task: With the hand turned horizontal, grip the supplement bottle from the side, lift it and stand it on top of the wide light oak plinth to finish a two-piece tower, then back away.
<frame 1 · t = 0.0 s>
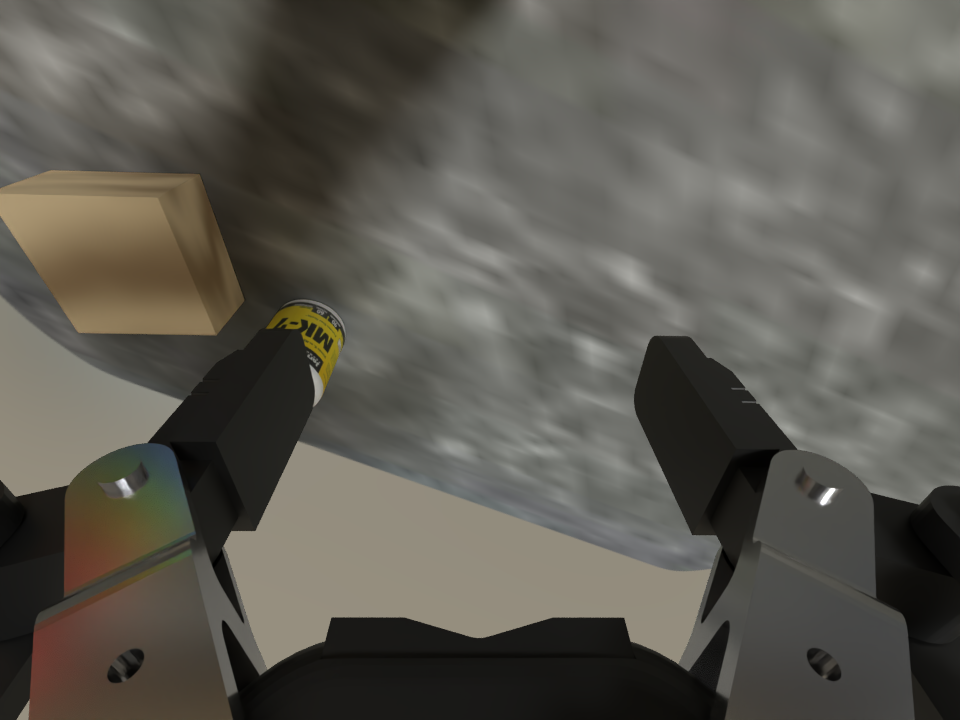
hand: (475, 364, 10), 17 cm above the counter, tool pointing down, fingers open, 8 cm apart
oak block: (157, 241, 26), on the counter
supplement bottle: (312, 324, 30), on the counter
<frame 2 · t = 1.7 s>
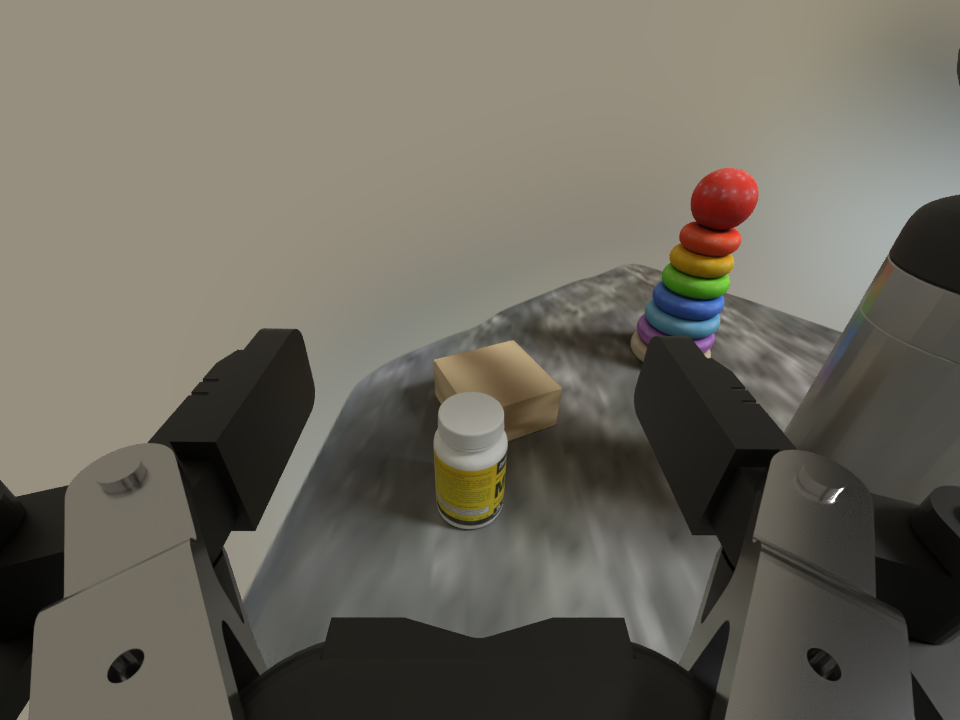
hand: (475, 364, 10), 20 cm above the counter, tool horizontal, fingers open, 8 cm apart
oak block: (493, 409, 39), on the counter
supplement bottle: (469, 503, 31), on the counter
stacking toy: (666, 357, 46), on the counter
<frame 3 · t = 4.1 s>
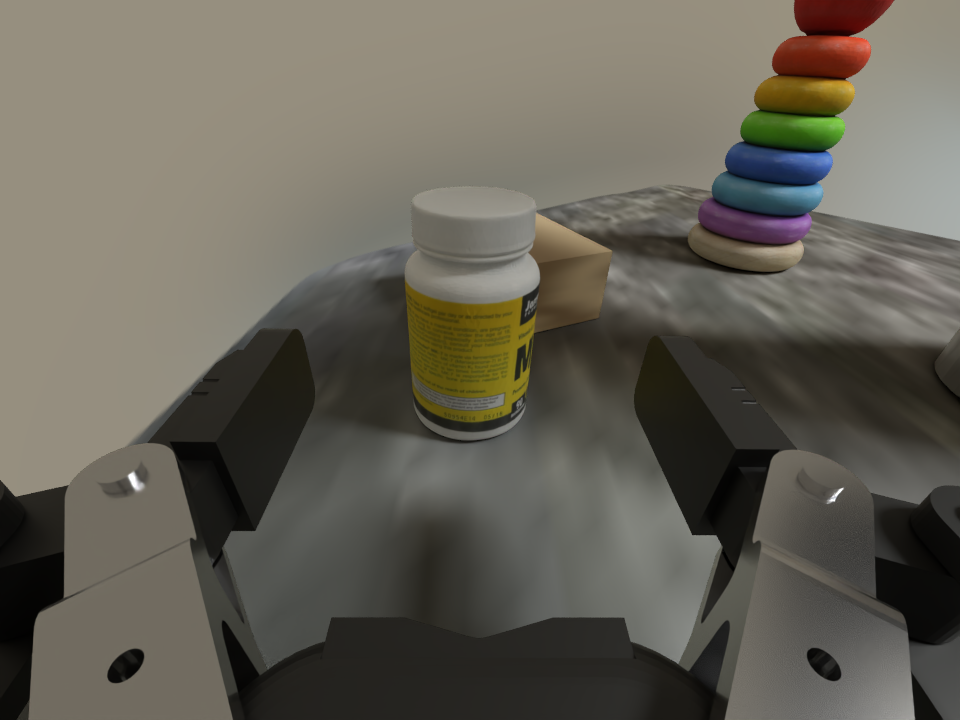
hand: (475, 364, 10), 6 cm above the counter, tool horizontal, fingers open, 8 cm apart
oak block: (505, 301, 26), on the counter
supplement bottle: (469, 407, 18), on the counter
stacking toy: (737, 258, 34), on the counter
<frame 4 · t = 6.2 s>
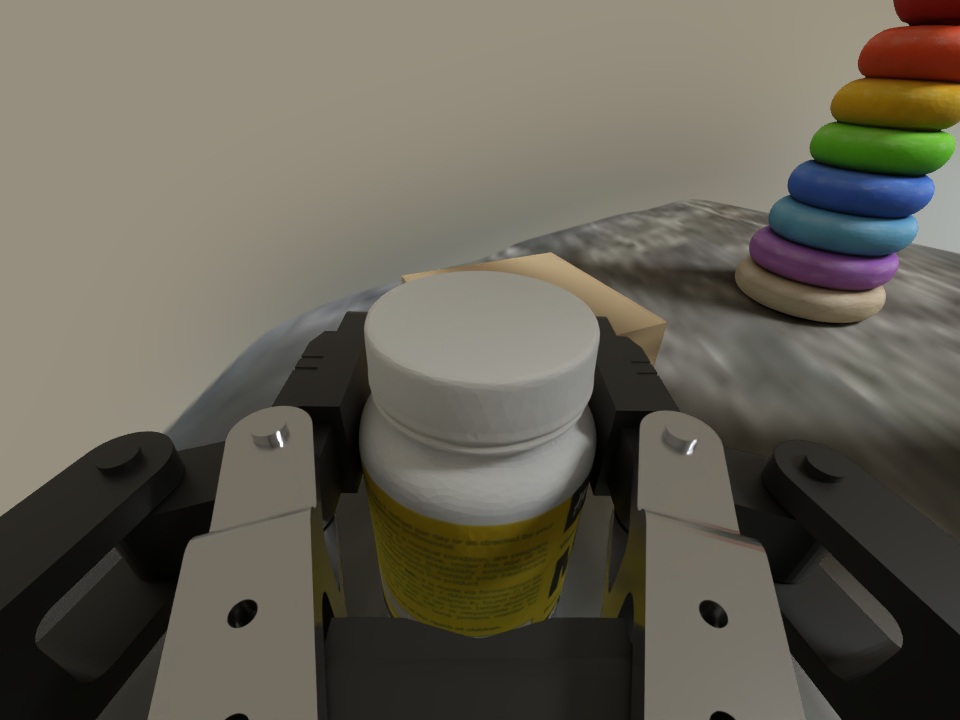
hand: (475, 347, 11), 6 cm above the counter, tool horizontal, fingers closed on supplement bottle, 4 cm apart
oak block: (516, 374, 20), on the counter
supplement bottle: (471, 585, 12), on the counter, touching gripper
stacking toy: (796, 301, 28), on the counter
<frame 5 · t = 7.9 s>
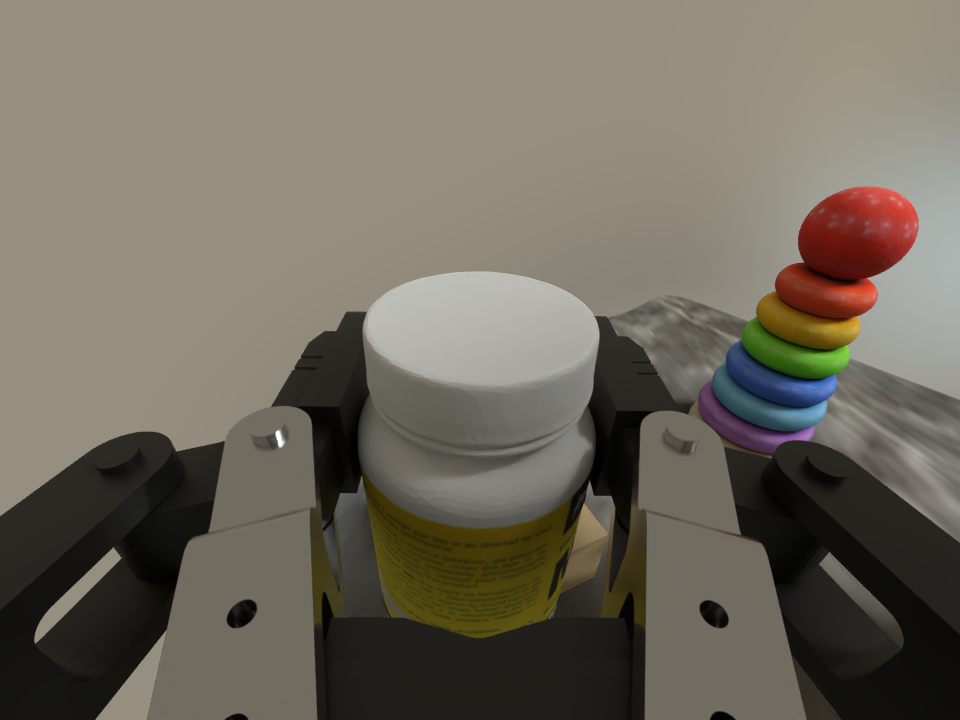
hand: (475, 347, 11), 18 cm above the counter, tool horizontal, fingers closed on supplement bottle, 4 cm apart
oak block: (498, 544, 26), on the counter
supplement bottle: (470, 586, 12), point 11 cm above the counter, touching gripper
stacking toy: (737, 443, 34), on the counter
when the fingers open (10 cm above the counter, at t = 9.9 s): supplement bottle stays where it is, resting on oak block.
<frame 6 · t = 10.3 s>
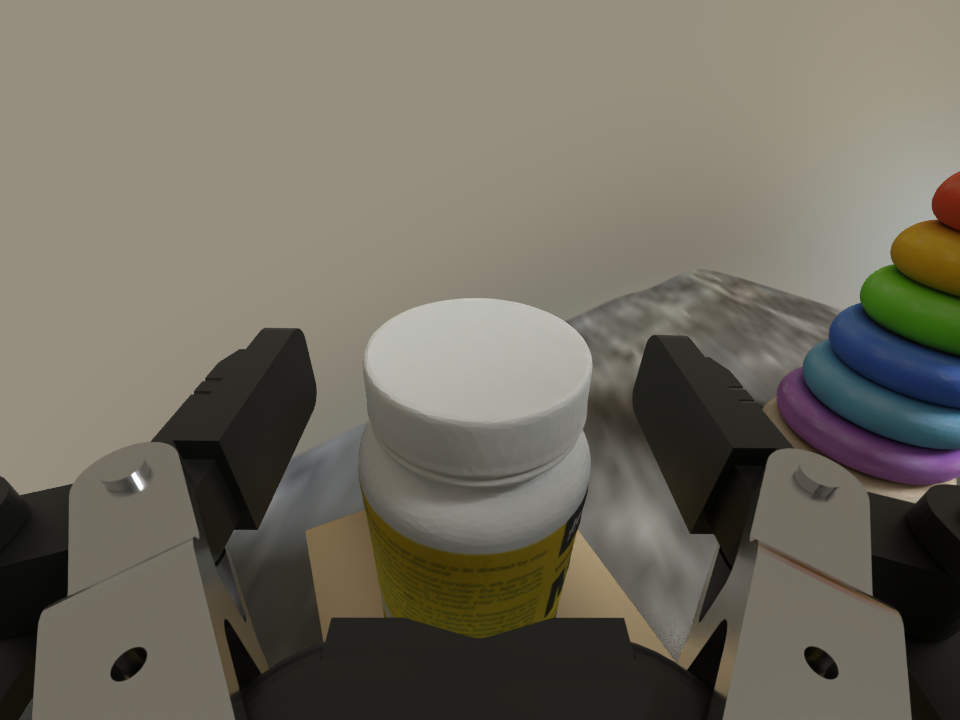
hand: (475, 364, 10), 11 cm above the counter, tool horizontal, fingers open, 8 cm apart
oak block: (469, 654, 15), on the counter
supplement bottle: (470, 600, 12), point 4 cm above the counter, touching oak block
stacking toy: (835, 463, 23), on the counter
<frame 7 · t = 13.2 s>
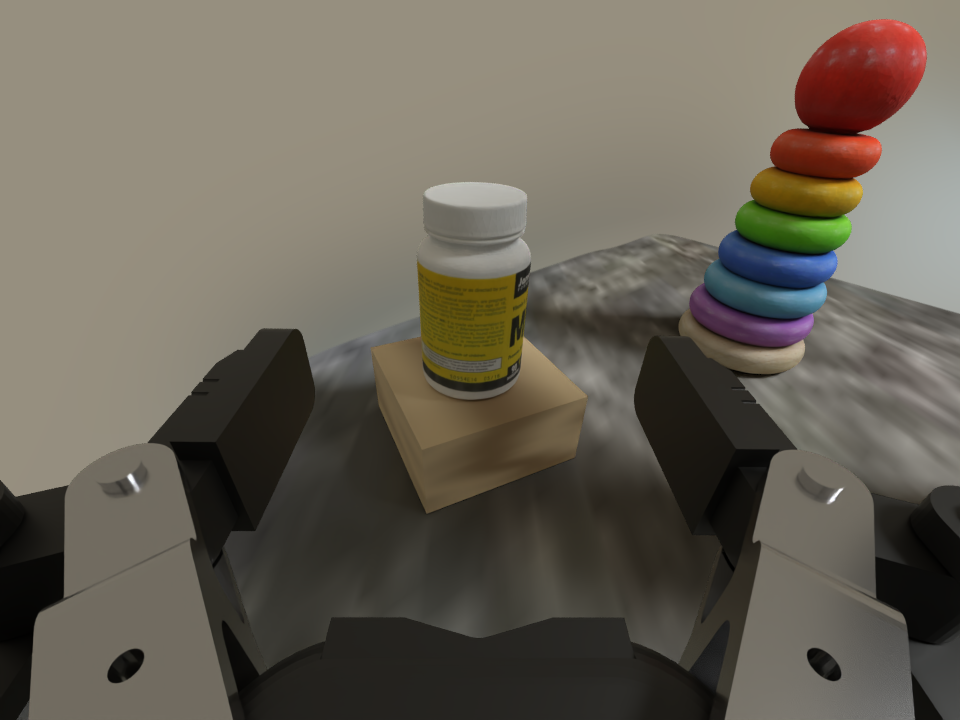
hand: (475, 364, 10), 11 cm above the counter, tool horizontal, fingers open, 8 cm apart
oak block: (470, 430, 23), on the counter
supplement bottle: (471, 375, 21), point 4 cm above the counter, touching oak block
stacking toy: (732, 349, 31), on the counter
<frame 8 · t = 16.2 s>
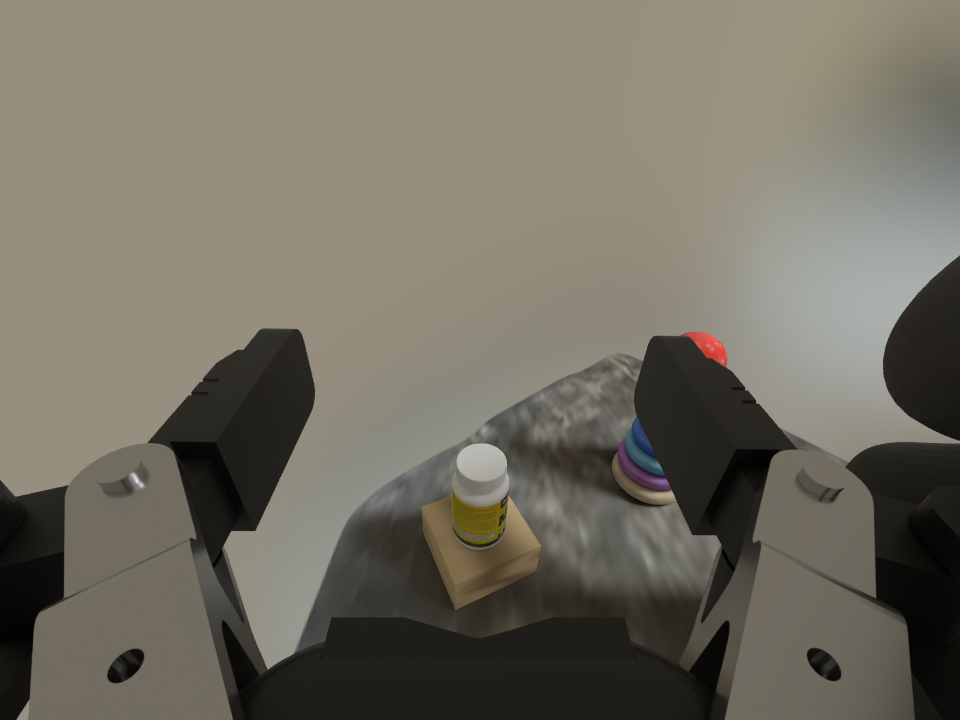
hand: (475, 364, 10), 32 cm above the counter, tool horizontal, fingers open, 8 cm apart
oak block: (477, 551, 41), on the counter
supplement bottle: (478, 528, 38), point 4 cm above the counter, touching oak block
stacking toy: (646, 480, 49), on the counter
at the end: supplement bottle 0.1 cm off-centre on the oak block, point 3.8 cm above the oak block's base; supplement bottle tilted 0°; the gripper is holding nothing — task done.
